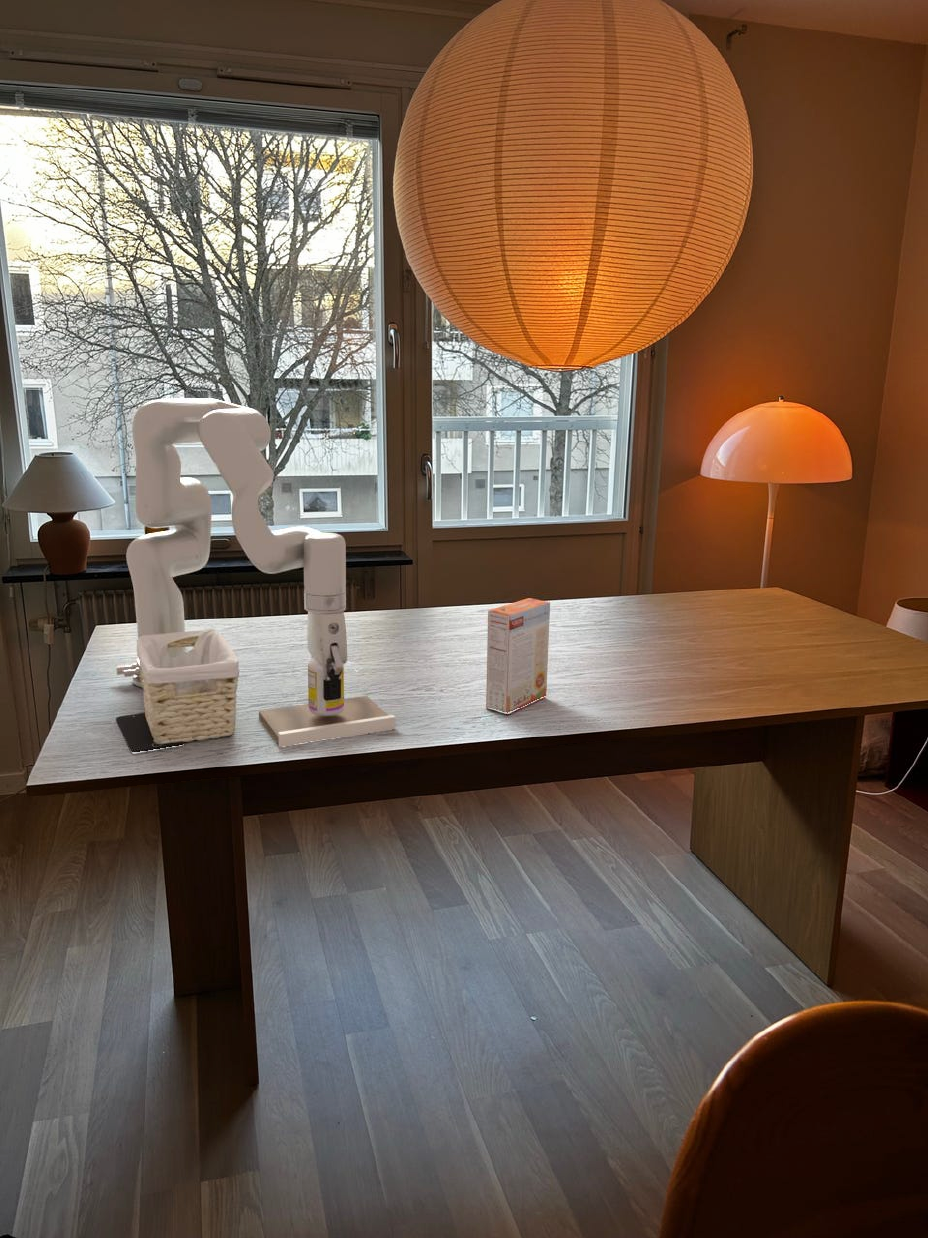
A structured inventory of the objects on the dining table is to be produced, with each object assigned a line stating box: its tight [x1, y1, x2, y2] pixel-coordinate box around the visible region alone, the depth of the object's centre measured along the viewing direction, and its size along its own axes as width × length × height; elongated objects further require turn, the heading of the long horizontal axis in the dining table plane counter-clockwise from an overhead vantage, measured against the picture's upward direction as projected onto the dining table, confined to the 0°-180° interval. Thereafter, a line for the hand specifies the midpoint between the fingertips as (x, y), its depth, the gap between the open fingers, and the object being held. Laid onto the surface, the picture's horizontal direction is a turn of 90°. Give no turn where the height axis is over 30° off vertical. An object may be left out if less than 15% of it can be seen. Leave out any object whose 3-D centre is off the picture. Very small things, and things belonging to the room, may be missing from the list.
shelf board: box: [258, 695, 389, 745], centre depth 170 cm, size 22×14×2 cm, turn 117°
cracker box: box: [485, 597, 551, 713], centre depth 181 cm, size 14×6×21 cm, turn 141°
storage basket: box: [136, 628, 240, 744], centre depth 168 cm, size 24×16×15 cm
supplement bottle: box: [307, 648, 345, 716], centre depth 167 cm, size 7×7×13 cm
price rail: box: [278, 714, 396, 748], centre depth 164 cm, size 22×1×2 cm, turn 117°
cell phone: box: [115, 712, 185, 752], centre depth 164 cm, size 9×18×1 cm, turn 29°
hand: (325, 692), depth 168 cm, fingers closed on supplement bottle, 6 cm apart
